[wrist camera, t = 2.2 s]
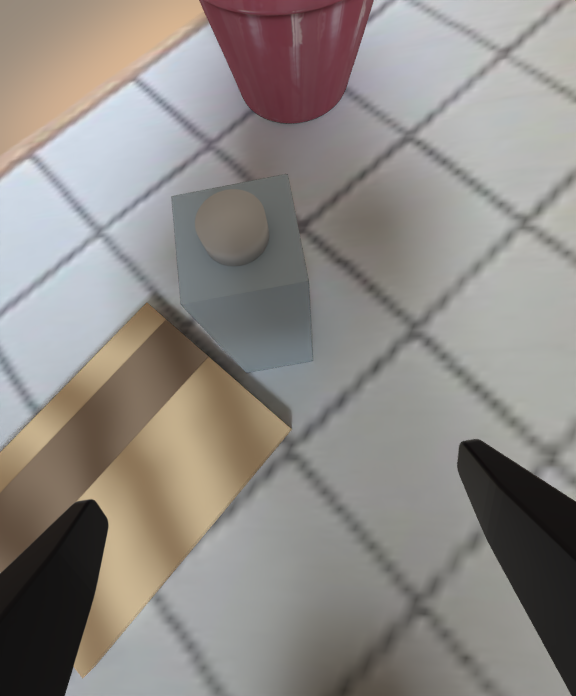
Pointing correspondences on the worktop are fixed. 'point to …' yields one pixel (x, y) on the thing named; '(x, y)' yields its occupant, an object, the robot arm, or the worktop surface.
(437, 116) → the worktop surface
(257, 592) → the worktop surface
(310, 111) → the plant pot
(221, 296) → the tall gray juice carton
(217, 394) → the striped wooden cutting board
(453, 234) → the worktop surface
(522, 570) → the robot arm
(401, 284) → the worktop surface
